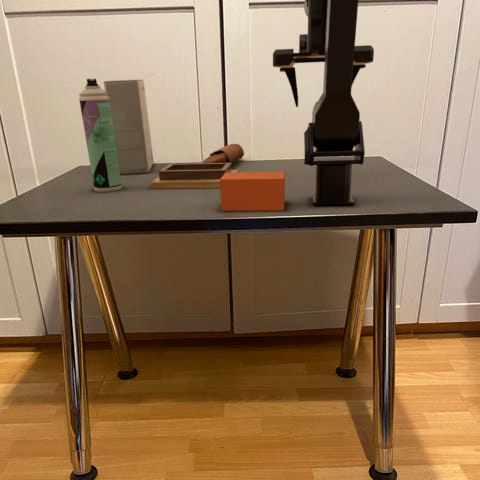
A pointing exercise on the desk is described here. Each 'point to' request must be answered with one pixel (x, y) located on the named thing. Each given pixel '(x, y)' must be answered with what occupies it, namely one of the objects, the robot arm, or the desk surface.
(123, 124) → the hard drive box
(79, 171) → the desk surface
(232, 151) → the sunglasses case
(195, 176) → the wooden tray
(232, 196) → the orange rectangular block
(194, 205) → the desk surface
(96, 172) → the spray can
